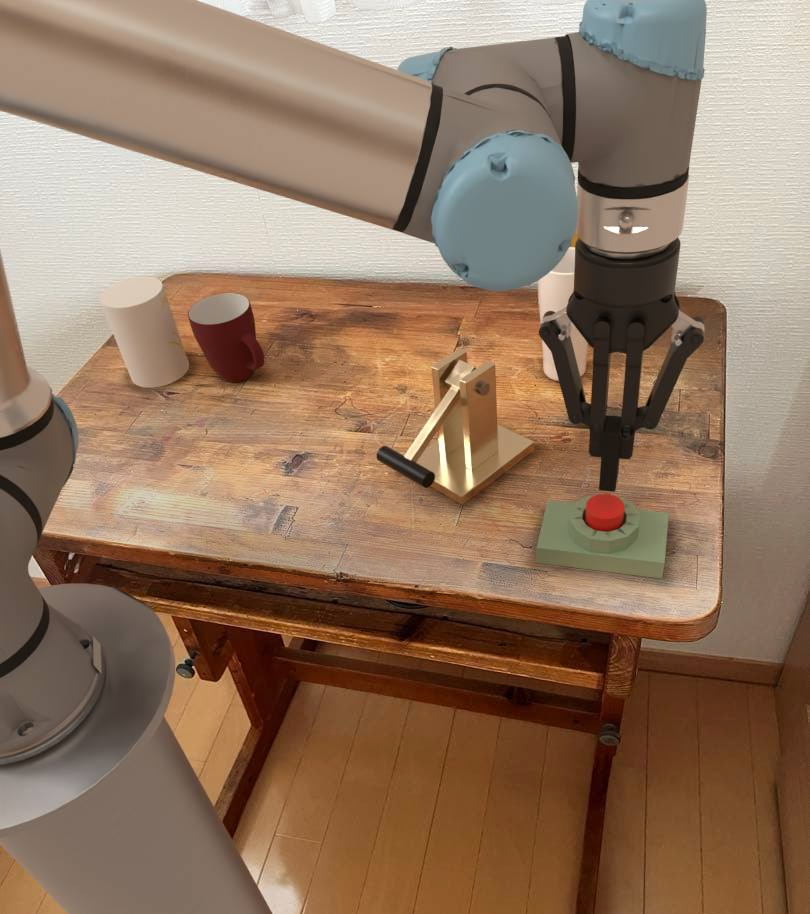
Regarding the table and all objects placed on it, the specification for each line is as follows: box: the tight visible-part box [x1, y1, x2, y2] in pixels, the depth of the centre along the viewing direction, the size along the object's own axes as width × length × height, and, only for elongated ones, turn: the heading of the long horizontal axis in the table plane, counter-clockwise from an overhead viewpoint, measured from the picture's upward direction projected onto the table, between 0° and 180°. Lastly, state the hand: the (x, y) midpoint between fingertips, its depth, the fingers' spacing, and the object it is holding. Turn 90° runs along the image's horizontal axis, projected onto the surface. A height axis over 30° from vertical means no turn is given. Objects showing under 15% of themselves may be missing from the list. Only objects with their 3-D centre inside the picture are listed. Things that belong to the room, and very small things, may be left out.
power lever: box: [376, 360, 477, 489], centre depth 87 cm, size 13×7×2 cm
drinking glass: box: [537, 247, 590, 382], centre depth 100 cm, size 7×7×15 cm
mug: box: [187, 292, 266, 384], centre depth 109 cm, size 10×8×10 cm
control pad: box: [535, 493, 670, 579], centre depth 82 cm, size 12×7×4 cm, turn 74°
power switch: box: [416, 348, 535, 506], centre depth 90 cm, size 12×9×13 cm
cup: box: [99, 276, 190, 389], centre depth 112 cm, size 8×8×12 cm
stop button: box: [585, 493, 625, 532], centre depth 80 cm, size 4×4×2 cm
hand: (608, 481), depth 77 cm, fingers closed
